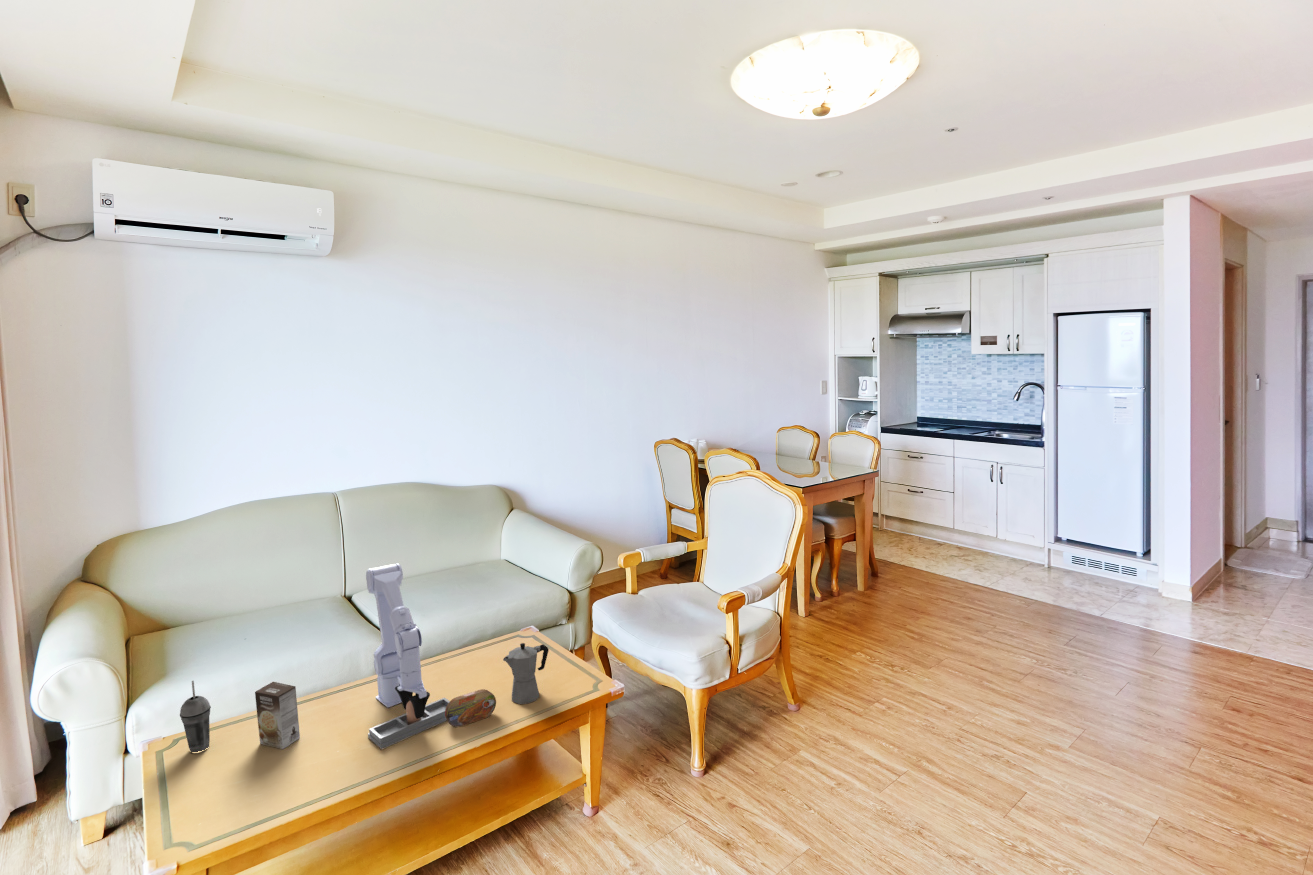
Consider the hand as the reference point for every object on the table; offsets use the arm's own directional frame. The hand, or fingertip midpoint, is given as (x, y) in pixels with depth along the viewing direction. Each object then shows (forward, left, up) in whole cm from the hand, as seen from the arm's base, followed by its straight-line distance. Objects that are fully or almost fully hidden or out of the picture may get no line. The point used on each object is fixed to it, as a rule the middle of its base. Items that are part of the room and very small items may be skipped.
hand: (413, 712), depth 198 cm
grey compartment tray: (0, 0, -4) cm, 4 cm away
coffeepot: (+11, +33, -4) cm, 35 cm away
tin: (+10, +13, -4) cm, 17 cm away
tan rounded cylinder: (0, 0, -3) cm, 3 cm away
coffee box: (-22, -30, -4) cm, 37 cm away
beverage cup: (-35, -47, -4) cm, 59 cm away
